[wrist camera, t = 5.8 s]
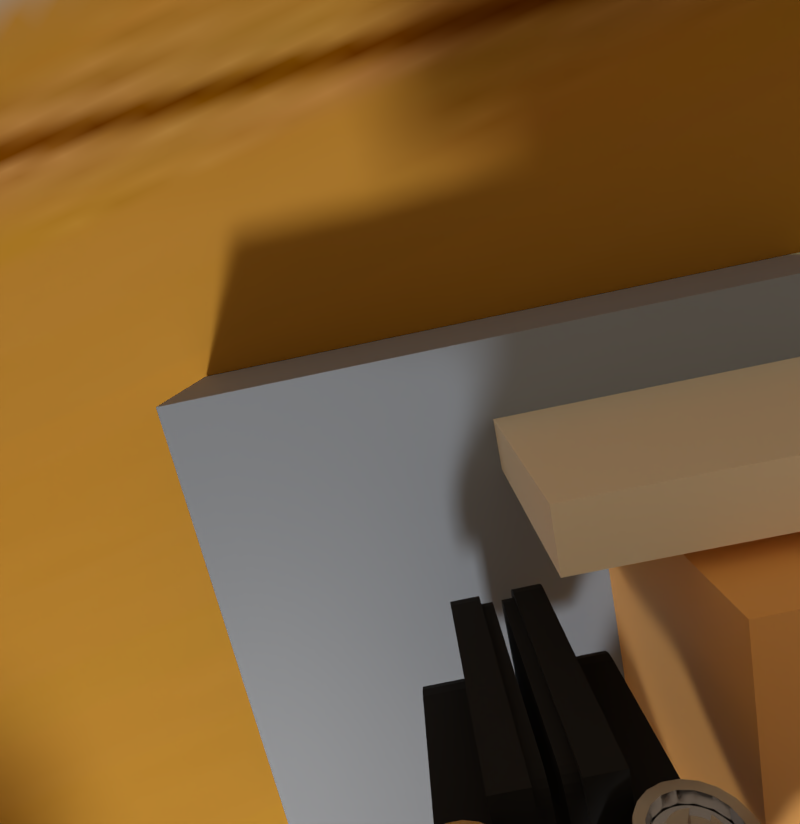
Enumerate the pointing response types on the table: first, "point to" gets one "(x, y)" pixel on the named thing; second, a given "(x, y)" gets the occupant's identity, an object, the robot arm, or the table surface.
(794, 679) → the cube
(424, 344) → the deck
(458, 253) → the table surface
